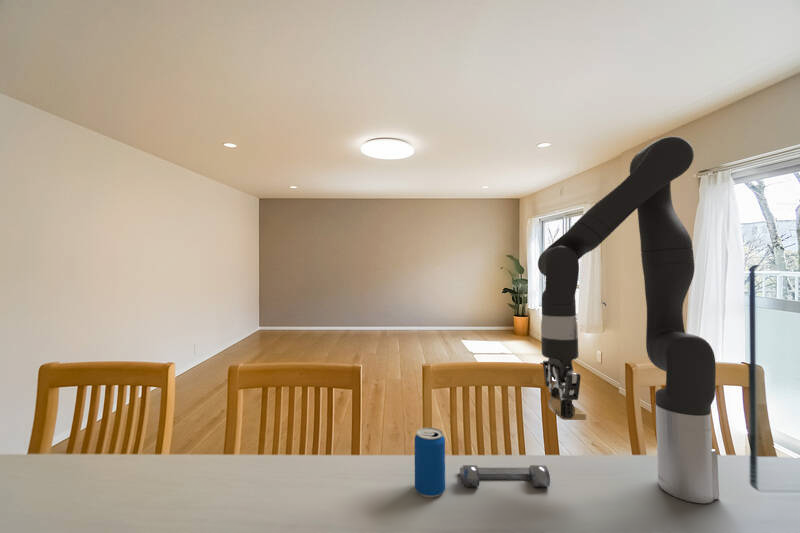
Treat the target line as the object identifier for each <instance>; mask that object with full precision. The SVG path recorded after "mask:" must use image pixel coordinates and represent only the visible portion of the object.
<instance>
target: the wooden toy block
mask: <svg viewBox="0 0 800 533" xmlns="http://www.w3.org/2000/svg"><path fill="white" fill-rule="evenodd" d="M560 399H561V398H560V395H553V396H551V395H550V397H549V399H548V400H547V406H548V408H549V409H550V410H551V411H552V412H553V413H554V414H555V415H556V416H557V417H559V418H560V419H561V420H564V421H572V420H573V421H587V414H586V413H585V412H583V411H582V410H581V409H579V408H577V407H576V406H575V405H574V404H573V403H572V414H573V416H572V418H563V417H562V416H561V403H560Z"/></svg>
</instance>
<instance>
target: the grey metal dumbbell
mask: <svg viewBox="0 0 800 533" xmlns="http://www.w3.org/2000/svg"><path fill="white" fill-rule="evenodd" d="M548 469H549V468H548V467H547V466H546V465H545V464H544V465H542V464H539V465H538V464H537V465H535V464H534V465H533V464H532V465H531V464H530V465H529V467H478V465H477V464H473V465H472V464H469V465H467V464H463V465H462V467H459V474H460V477H461V481H462V484H463V487H472V488H474V487H476V488H477V487H479V486H480V480H528V481H529V482H530V484H531V486H533V487H536V488H538V487H540V488H541V487H544V488H545V487H547V488H549V487H550V486H551V478H550V477H551V476H550V472H549V470H548Z"/></svg>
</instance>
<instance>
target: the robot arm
mask: <svg viewBox="0 0 800 533" xmlns="http://www.w3.org/2000/svg"><path fill="white" fill-rule="evenodd" d="M694 154H695V152H694V148H693V146H692V145H691V143H690V142H689V141H688V140H686V139H684V138H682V137H680V136H665V137H662V138H659V139H657V140H655V141H653V142H652V143H650V144H649V145H647V146H646V147H644V148H643V149H642V150H640V151H638V152H637V153H636V154H635V155H634V157H632V159H631V161H630V164H629V175H628V176H627V177H626V178H625V179H624V180H623V181H621V183H620V184H619V185H617V186H616V187H615V188H614V189H612V190H611V191H610V192H608V194H607V195H605V196H604V197H603V198H601V199H600V200H599V201H598V202H596V203H594V205H593V206H592V207H590V209H588V210H587V211H586V212H584V214H583V215H582V216H581V217H580V218H579V219H577V221H576V222H575V223H574V224H572V226H570V228H569V229H568V230H567V231H566V232H565V233H564V234H563V235H561V236H560V237H559V238H558V239H556V240H555V241H554V242H552V244H551V245H549V246H548V247H547V248H546V249H545V250H543V252H542V253H541V254H540V256H539V257H538V259H537V260H538V261H537V267H538V270H539V272H540V273H541V275H543V276H545V287H544V288H545V289H544V291H543V292H542V294H541V323H540V333H541V334H540V337H541V339H540V340H541V343H540V344H541V355H542V356H543V357H545V358H547V359H548V360H543V361H542V366H543V373H544V374H543V375H544V380H545V381H544V383H545V386H546V387H547V388H548V391H549V392H550V397H551V396H553V395H560V398H561V399H560V403H561V416H562V417H563V418H572V416H573V414H572V404H573V401H578V400H579V394H580V384H581V378H582V377H581V374H580V373H578V372H577V373H575V371H574V367H573V362H572V361H573V360H576V359H578V358H579V335H578V334H579V329H578V320H577V312H576V311H577V310H576V309H577V306H576V292H577V288H578V281H579V275H580V274H579V273H580V262H579V260H580V259H581V258H582V257H583V256H584V255H586V254H587V253H590V252H592V251H594V250H595V249H596V248H597V247H598V246H600V245H601V244H602V243H603V242H604V241H605V240H606V239H607V238H608V237H609V236H610V235H611V234H612V233H613V232H614V231H615V230H616V229H617V228H618V227H619V226H620V225H621V224H622V223H624V221H626V219H627V218H629V216H630V215H632V214H633V213H634V212H635V211H636V210H637V220H638V221H637V222H638V229H639V230H638V231H639V232H638V233H639V242H640V252H641V253H640V256H641V266H642V272H643V281H644V293H645V294H644V295H645V303H646V328H645V331H646V334H645V345H646V346H645V348H646V353H647V358H648V359H649V361H650V363H652V365H654V366H655V368H658V369H660V370H662V371H664V372H665V375H666V376H665V387H664V388H660V389H657V390H655V393H654V394H655V425H656V426H655V429H656V449H657V450H656V452H657V453H656V454H657V478H658V479H657V481H658V486H659V488H661V490H663V491H664V492H666V493H667V494H669V495H671V496H672V497H675V498H677V499H681V500H683V501H687V502H690V503H691V502H692V503H695V504H711V503H713V502H714V501H715V500H720V485H719V484H720V483H719V462H718V452H717V450H716V449H715V448H713V439H712V438H713V437H712V436H713V434H712V418H711V417H712V415H711V413H712V412H711V411H712V410H711V406H712V404H713V402H714V400H715V397H716V375H717V373H716V371H717V370H716V364H717V363H716V356H715V352H714V350H713V348H712V346H711V345H710V343H709V342H708V341H707V340H706V339H704V338H702V337H700V336H698V335H695V334H690V333H686V331H685V326H684V325H685V324H684V323H685V322H684V316H683V308H684V303H685V300H686V296H687V294H688V291H689V289H690V288H691V287H690V286H691V284H692V282H693V279H694V276H695V270H696V269H695V268H696V267H695V257H694V248H693V241H692V238H691V236H690V234H689V232H688V230H687V228H686V227H685V226H684V224H683V222H682V221H681V219H680V218H679V216H678V215H677V213H676V211H675V209H674V205H673V201H672V190H671V182H672V181H674V180H675V179H678V178H679V177H681V176H682V175H683V174H685V173H686V172H687V171H688V169H690V167H691V165H692V164H693V161H694V158H695V157H694Z"/></svg>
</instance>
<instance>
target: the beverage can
mask: <svg viewBox="0 0 800 533" xmlns="http://www.w3.org/2000/svg"><path fill="white" fill-rule="evenodd" d="M414 489H415V491H417V493H419V495H421V496H422V497H425V498H430V499H431V498H437V497H439V496H440V495H441V494H444V492H445V491H446V439H445V436H444V432H443V431H442V430H441V429H440V428H439V429H438V428H436V427H421V428H420V429H419V428H418V430H417V431H416V435H415V436H414Z"/></svg>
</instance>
